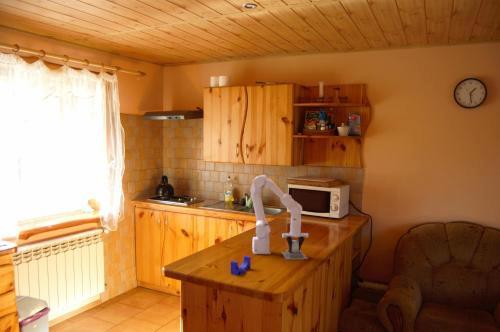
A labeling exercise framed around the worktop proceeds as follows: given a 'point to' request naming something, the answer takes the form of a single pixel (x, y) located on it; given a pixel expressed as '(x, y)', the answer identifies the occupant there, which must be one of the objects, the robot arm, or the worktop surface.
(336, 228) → the worktop surface
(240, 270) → the cable clip
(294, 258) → the grey square tray
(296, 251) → the cylinder
